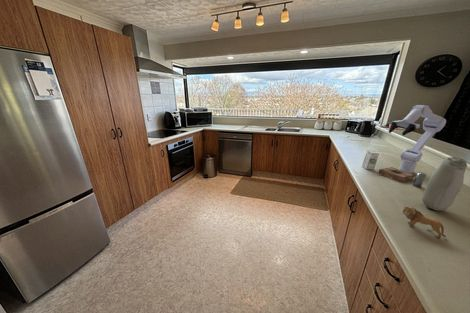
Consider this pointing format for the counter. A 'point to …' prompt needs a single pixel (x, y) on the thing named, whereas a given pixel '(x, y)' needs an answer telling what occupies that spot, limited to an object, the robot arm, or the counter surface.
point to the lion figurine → (423, 220)
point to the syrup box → (370, 160)
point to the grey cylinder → (419, 179)
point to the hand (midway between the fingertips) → (395, 133)
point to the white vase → (445, 184)
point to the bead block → (396, 174)
